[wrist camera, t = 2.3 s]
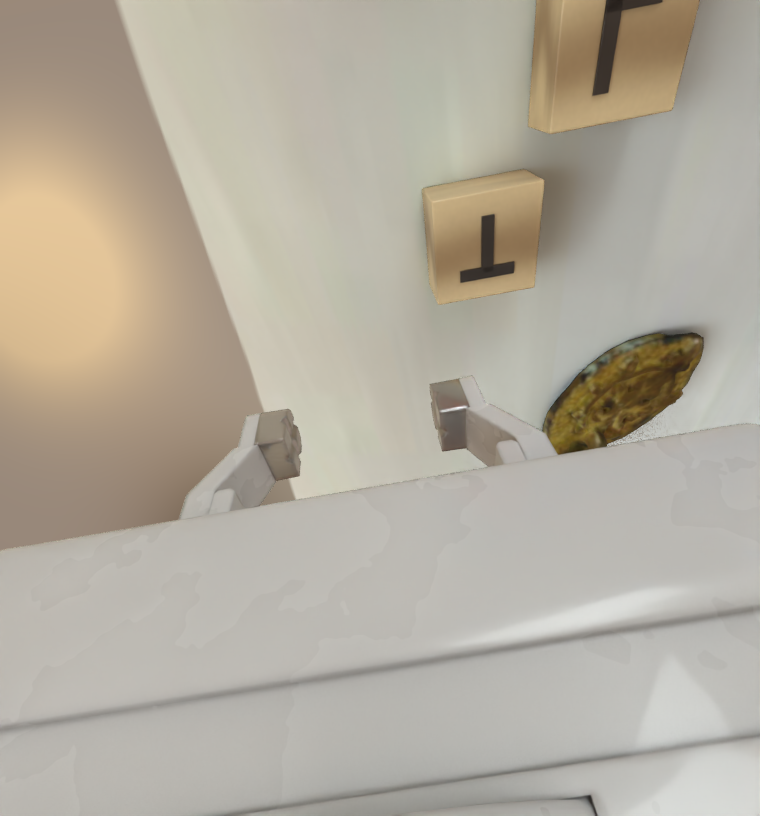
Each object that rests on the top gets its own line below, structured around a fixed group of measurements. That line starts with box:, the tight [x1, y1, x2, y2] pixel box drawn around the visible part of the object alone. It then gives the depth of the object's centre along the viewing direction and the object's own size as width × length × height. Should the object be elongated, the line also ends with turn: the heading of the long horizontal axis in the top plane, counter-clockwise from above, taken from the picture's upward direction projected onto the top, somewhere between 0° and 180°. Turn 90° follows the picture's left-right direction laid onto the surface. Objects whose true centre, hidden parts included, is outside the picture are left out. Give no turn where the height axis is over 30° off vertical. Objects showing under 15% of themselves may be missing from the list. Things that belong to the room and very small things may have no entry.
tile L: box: [528, 0, 700, 134], centre depth 19 cm, size 6×6×3 cm
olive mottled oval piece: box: [543, 333, 704, 455], centre depth 34 cm, size 9×5×15 cm
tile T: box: [422, 169, 545, 305], centre depth 25 cm, size 6×6×3 cm
